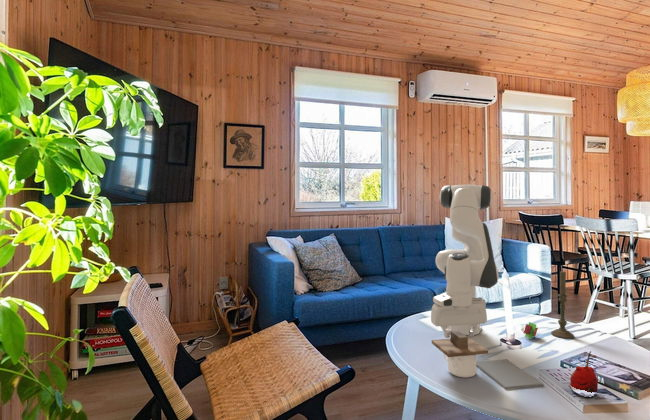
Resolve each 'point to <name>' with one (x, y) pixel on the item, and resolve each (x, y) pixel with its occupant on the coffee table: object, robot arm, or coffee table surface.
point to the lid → (459, 345)
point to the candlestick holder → (562, 310)
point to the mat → (508, 374)
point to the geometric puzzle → (529, 330)
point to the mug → (462, 365)
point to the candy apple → (585, 378)
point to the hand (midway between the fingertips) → (459, 336)
